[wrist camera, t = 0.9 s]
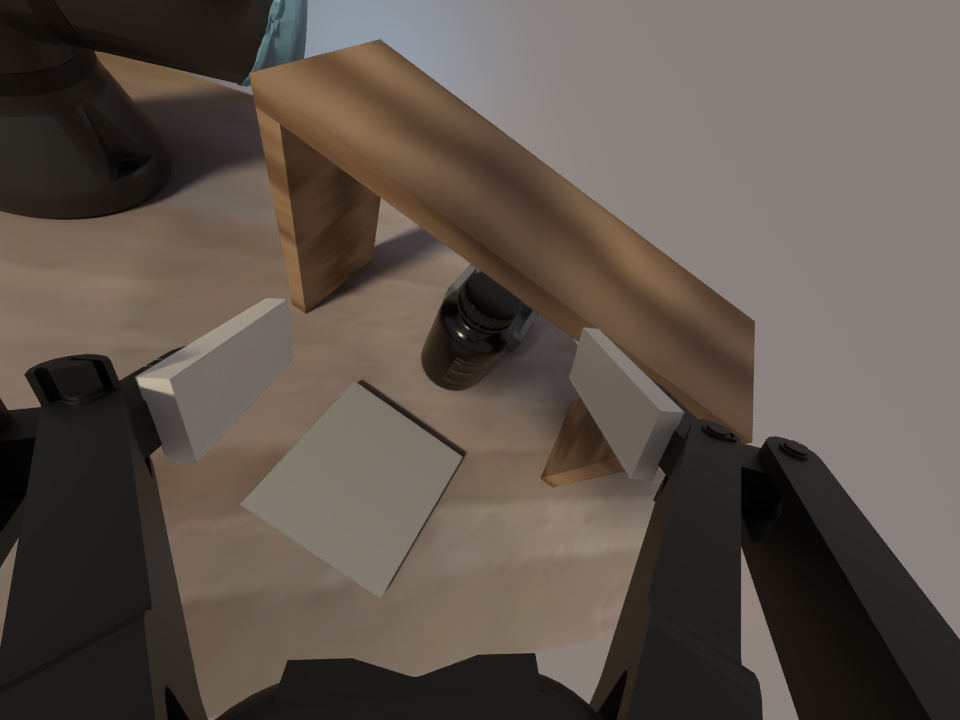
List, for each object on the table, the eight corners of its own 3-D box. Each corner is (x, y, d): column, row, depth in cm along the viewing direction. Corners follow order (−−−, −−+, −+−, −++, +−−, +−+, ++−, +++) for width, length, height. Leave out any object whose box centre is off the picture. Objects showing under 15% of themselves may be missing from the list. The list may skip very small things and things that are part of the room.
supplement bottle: (492, 360, 38) (547, 297, 28) (460, 405, 34) (511, 351, 24) (442, 323, 38) (481, 246, 28) (405, 364, 34) (434, 293, 24)
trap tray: (512, 351, 39) (521, 342, 38) (442, 300, 39) (447, 289, 37) (532, 319, 43) (541, 309, 41) (467, 272, 42) (473, 260, 40)
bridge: (552, 487, 34) (752, 442, 18) (292, 304, 32) (249, 73, 16) (582, 410, 39) (754, 321, 23) (361, 251, 38) (380, 39, 22)
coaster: (242, 505, 24) (240, 504, 24) (354, 384, 31) (354, 381, 30) (379, 596, 25) (380, 598, 24) (460, 458, 32) (462, 456, 31)
